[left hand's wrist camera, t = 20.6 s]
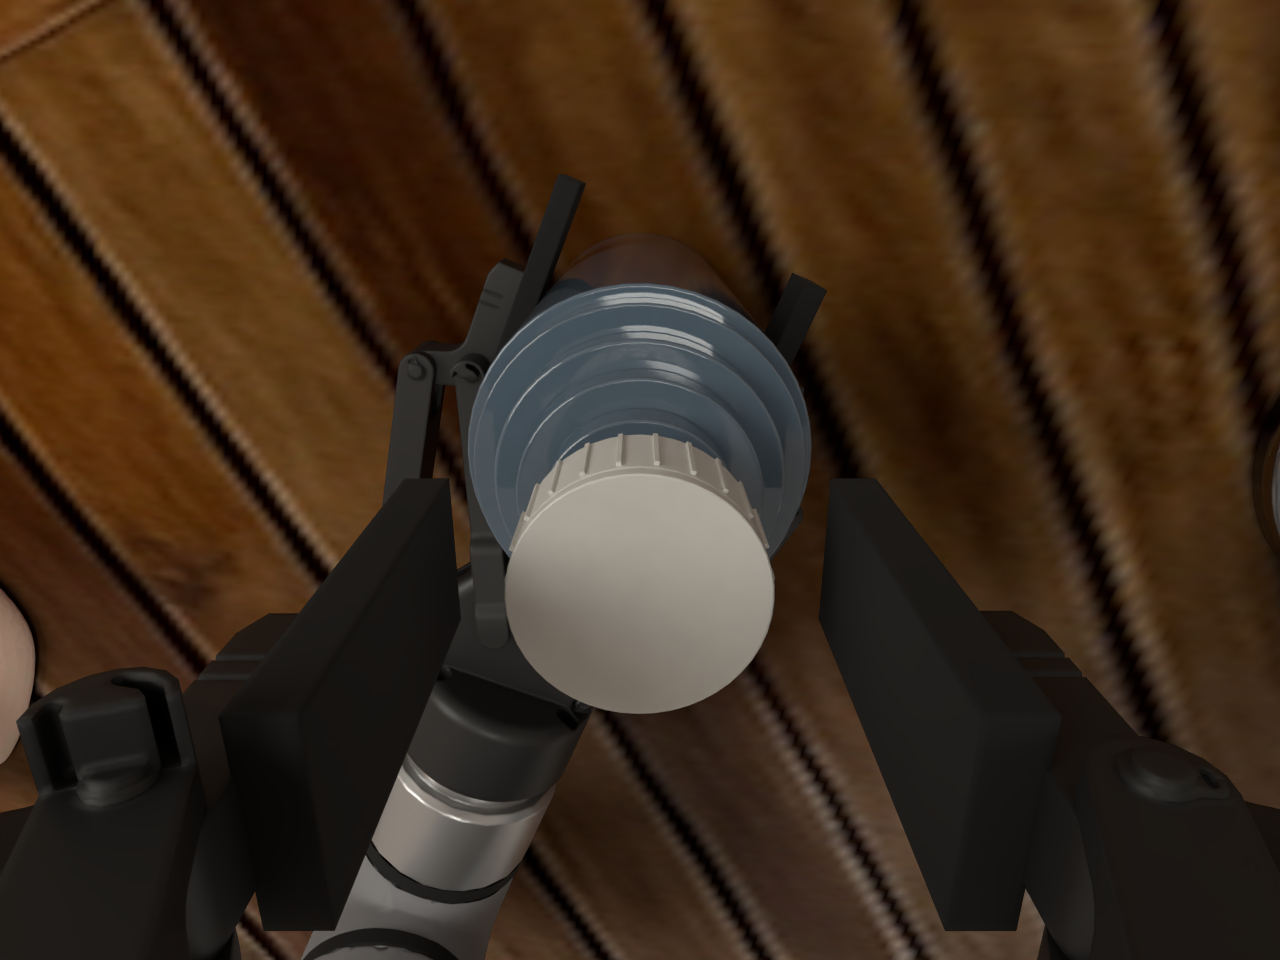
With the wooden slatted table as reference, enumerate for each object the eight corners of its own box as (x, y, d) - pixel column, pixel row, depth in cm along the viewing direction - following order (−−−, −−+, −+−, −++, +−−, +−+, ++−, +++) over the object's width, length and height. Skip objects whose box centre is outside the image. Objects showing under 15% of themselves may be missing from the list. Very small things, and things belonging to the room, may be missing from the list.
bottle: (547, 228, 34) (373, 322, 12) (740, 237, 34) (928, 348, 12) (545, 415, 36) (403, 776, 14) (725, 423, 37) (852, 793, 15)
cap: (679, 687, 16) (684, 757, 14) (476, 584, 15) (452, 643, 13) (808, 507, 14) (833, 557, 12) (593, 384, 13) (585, 417, 12)
